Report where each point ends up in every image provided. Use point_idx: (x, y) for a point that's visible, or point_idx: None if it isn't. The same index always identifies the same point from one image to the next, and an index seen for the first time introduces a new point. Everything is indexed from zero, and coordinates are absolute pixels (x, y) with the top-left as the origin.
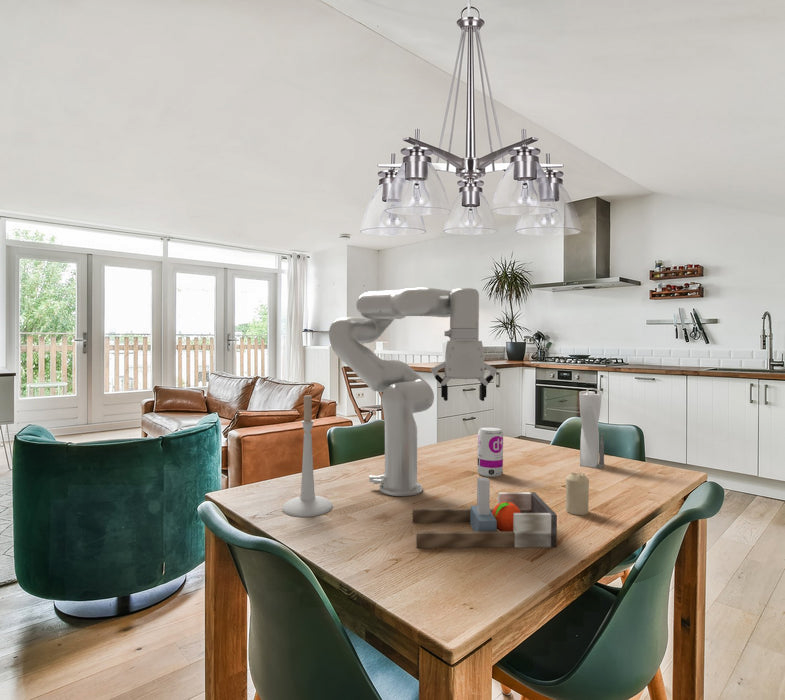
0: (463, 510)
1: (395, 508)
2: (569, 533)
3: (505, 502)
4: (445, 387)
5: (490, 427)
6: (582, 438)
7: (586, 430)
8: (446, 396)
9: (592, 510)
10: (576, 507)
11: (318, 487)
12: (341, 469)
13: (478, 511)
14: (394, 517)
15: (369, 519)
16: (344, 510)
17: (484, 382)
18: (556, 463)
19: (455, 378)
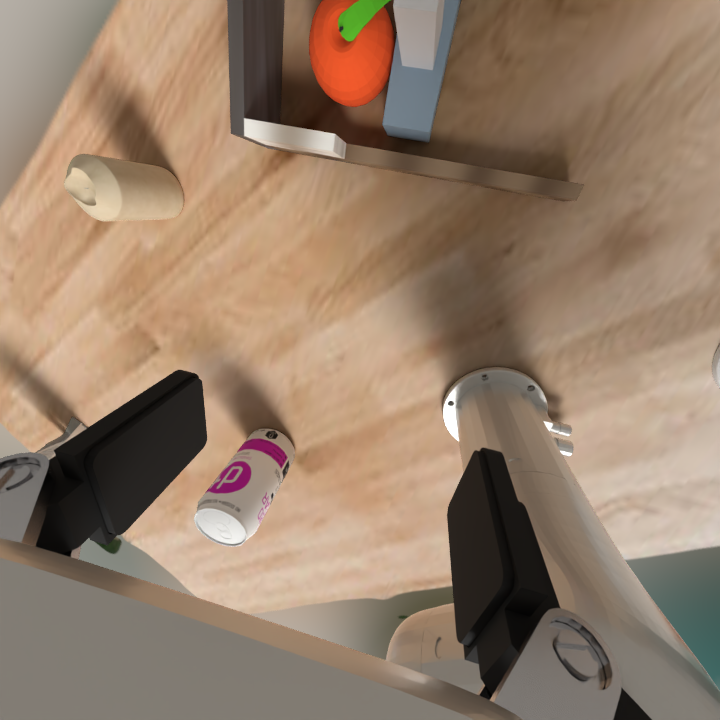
0: (440, 160)
1: (561, 298)
2: (214, 39)
3: (342, 49)
4: (534, 568)
5: (216, 541)
6: None
7: None
8: (496, 472)
9: None
10: (156, 168)
11: (675, 471)
12: None
13: (440, 31)
14: (597, 235)
15: (672, 233)
16: (702, 312)
17: (10, 495)
18: None
19: (420, 677)
